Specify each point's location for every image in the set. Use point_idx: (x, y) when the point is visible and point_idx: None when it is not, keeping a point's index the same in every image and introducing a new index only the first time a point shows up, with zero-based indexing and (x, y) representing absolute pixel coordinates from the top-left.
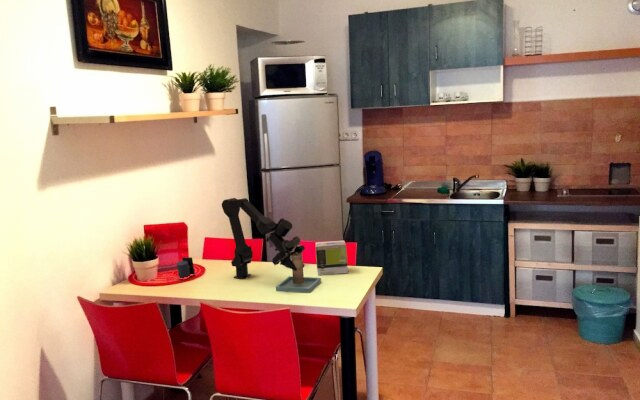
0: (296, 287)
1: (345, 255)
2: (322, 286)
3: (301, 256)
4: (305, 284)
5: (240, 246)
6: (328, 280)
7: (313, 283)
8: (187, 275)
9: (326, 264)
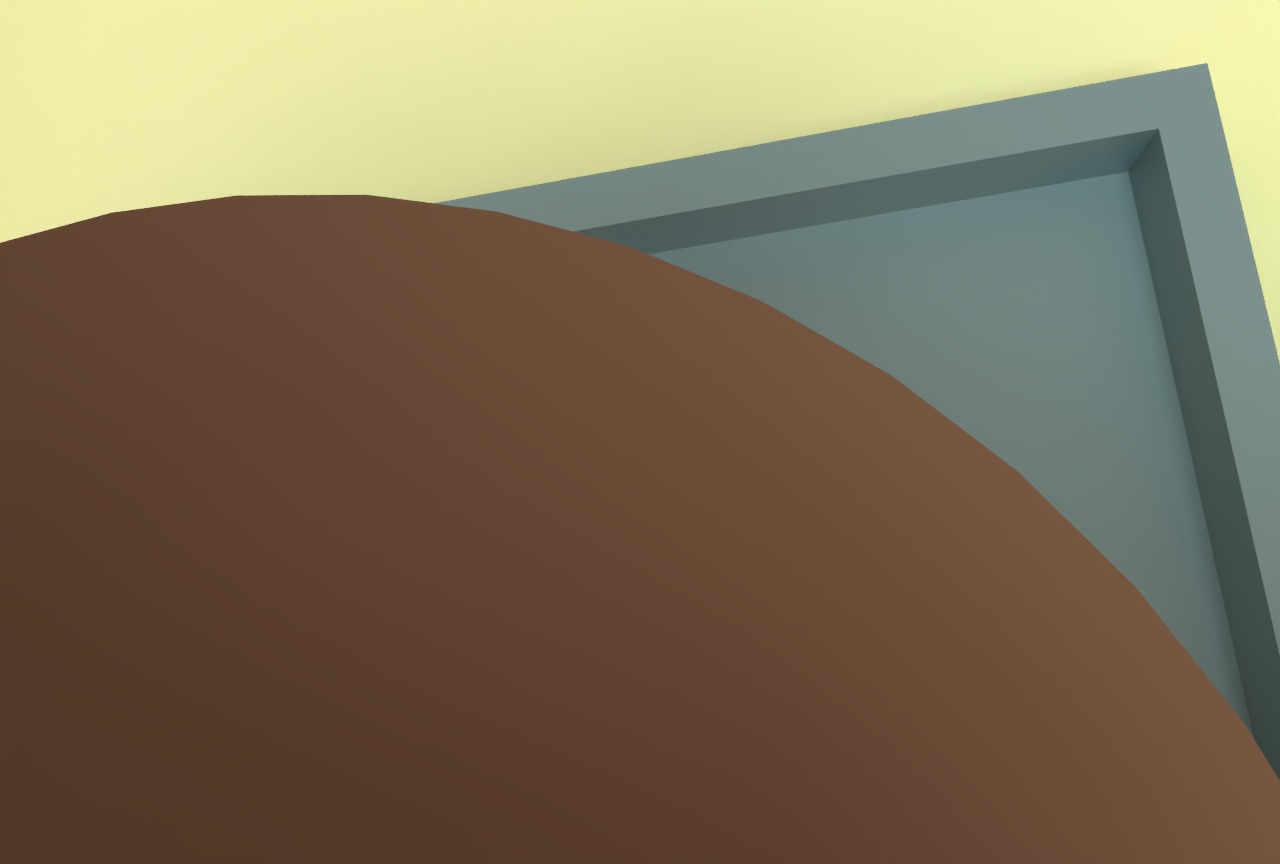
0: (1272, 511)
1: None
2: (518, 79)
3: (397, 275)
4: None
5: None
6: (18, 182)
7: (681, 192)
8: None
9: None
